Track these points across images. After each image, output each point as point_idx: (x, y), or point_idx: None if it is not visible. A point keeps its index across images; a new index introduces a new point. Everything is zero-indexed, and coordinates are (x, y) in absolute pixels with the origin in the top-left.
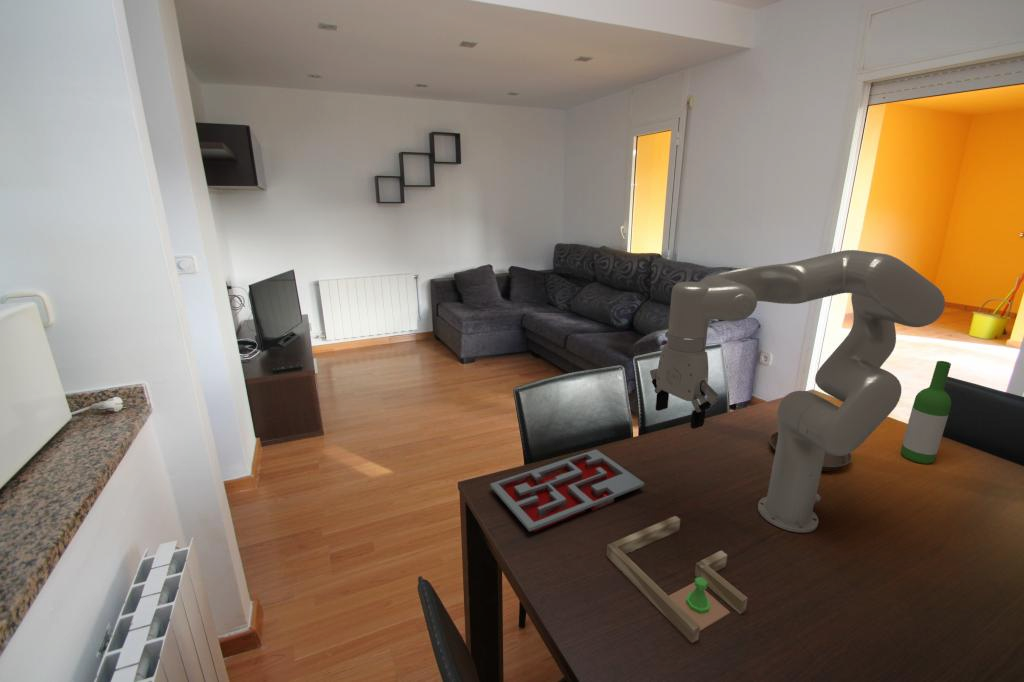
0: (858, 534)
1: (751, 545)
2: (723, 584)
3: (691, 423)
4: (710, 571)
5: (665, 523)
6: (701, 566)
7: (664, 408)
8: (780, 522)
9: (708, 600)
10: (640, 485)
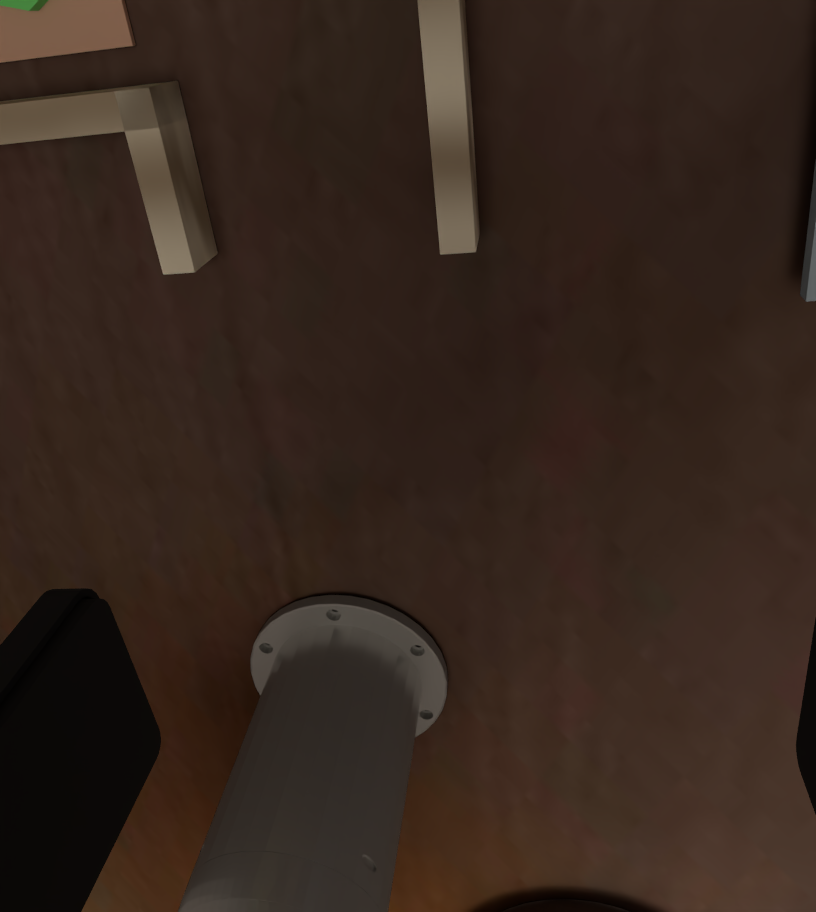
0: (209, 746)
1: (262, 443)
2: (8, 109)
3: (45, 636)
4: (88, 114)
5: (446, 151)
6: (122, 95)
7: (806, 709)
8: (307, 617)
9: (3, 4)
10: (807, 265)
